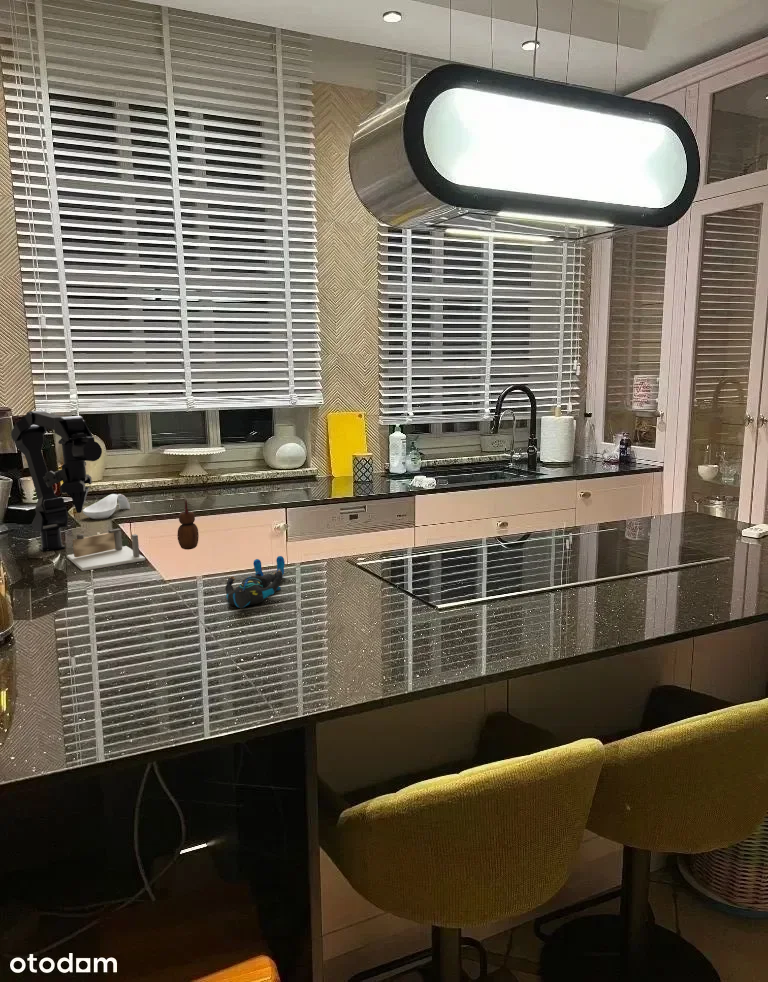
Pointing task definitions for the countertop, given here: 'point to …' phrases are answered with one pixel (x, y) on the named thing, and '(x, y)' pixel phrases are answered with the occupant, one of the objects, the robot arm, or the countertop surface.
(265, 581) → the figurine
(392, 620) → the countertop surface
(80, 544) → the gate
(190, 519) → the wooden figurine
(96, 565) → the white flat posted base
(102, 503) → the spoon rest
